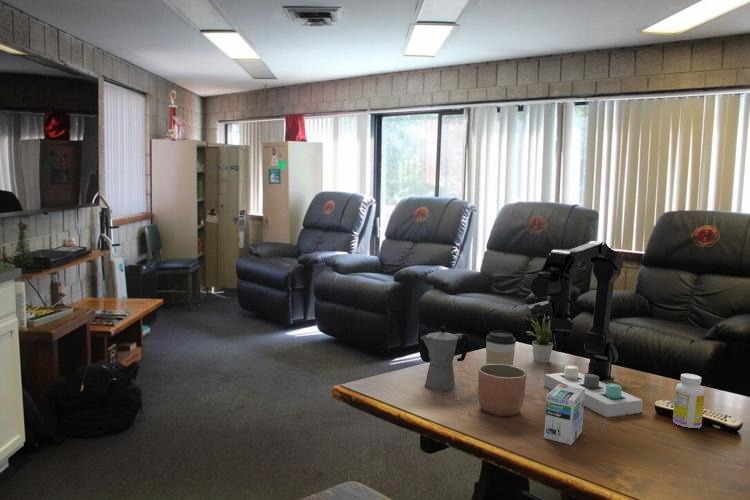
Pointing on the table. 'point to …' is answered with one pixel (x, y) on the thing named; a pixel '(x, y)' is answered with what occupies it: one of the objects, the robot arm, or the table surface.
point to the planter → (501, 389)
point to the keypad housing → (598, 396)
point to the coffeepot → (443, 358)
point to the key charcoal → (591, 381)
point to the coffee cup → (500, 348)
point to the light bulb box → (564, 414)
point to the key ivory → (571, 373)
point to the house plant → (541, 342)
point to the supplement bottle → (689, 402)
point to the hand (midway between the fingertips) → (556, 347)
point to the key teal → (613, 391)
